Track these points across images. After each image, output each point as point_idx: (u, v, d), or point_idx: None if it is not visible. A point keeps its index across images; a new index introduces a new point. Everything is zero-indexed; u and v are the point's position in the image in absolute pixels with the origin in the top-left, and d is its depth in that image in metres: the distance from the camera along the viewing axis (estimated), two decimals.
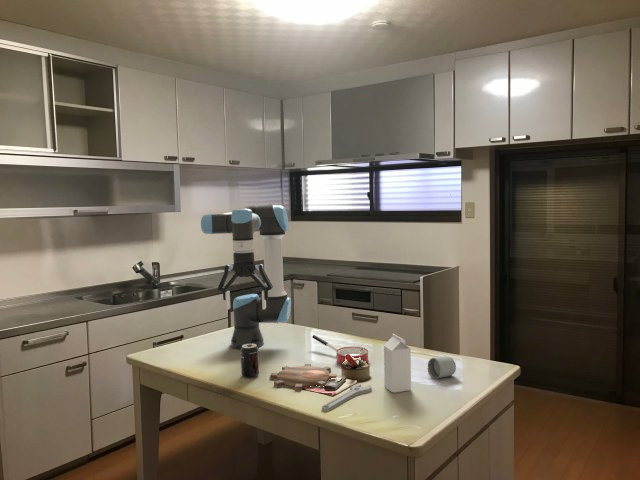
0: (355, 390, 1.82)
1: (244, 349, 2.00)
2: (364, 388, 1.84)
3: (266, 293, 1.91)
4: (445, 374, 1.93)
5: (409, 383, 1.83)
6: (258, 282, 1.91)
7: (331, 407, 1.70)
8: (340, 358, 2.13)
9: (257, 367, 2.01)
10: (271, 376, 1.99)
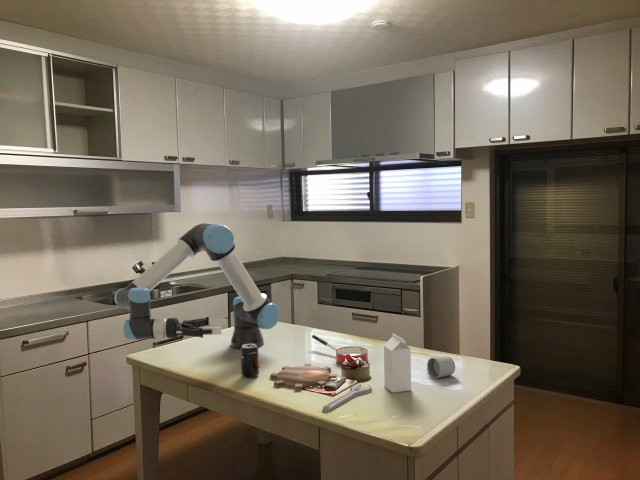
0: (355, 390, 1.82)
1: (244, 349, 2.00)
2: (364, 388, 1.83)
3: (205, 333, 1.93)
4: (444, 374, 1.93)
5: (409, 383, 1.83)
6: None
7: (332, 408, 1.69)
8: (340, 358, 2.14)
9: (257, 367, 2.01)
10: (271, 376, 1.99)
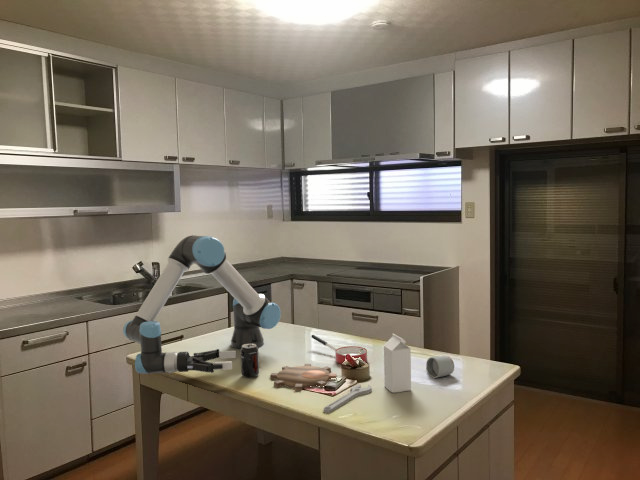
0: (355, 391, 1.81)
1: (244, 349, 2.00)
2: (364, 389, 1.83)
3: (215, 368, 1.94)
4: (443, 373, 1.94)
5: (409, 383, 1.83)
6: None
7: (333, 409, 1.68)
8: (339, 358, 2.14)
9: (257, 367, 2.01)
10: (271, 376, 1.99)
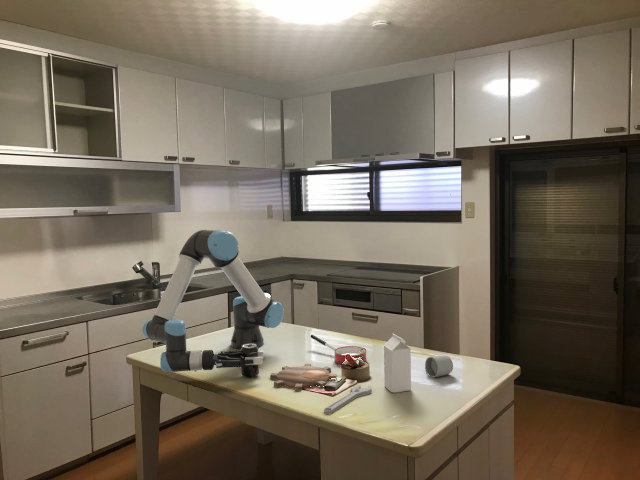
0: (356, 392, 1.81)
1: (244, 349, 2.00)
2: (364, 389, 1.82)
3: (246, 363, 1.98)
4: (442, 373, 1.94)
5: (409, 383, 1.83)
6: None
7: (333, 409, 1.68)
8: (338, 357, 2.14)
9: (257, 367, 2.01)
10: (271, 376, 1.99)
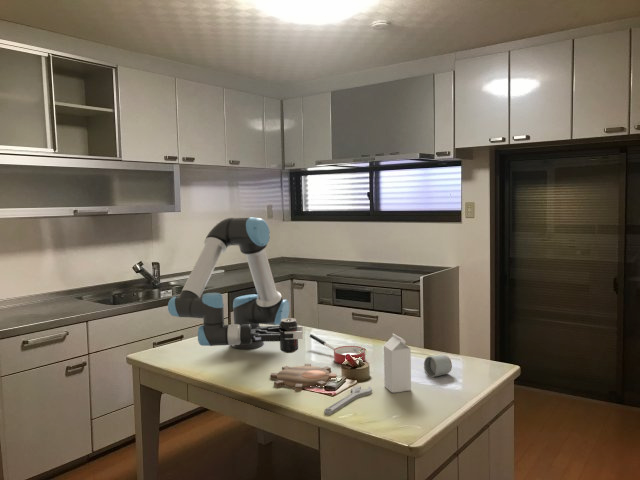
0: (356, 392, 1.80)
1: (283, 323, 1.93)
2: (365, 390, 1.81)
3: (286, 338, 1.91)
4: (441, 372, 1.95)
5: (409, 383, 1.83)
6: None
7: (333, 410, 1.67)
8: (337, 357, 2.15)
9: (296, 342, 1.95)
10: (271, 376, 1.99)
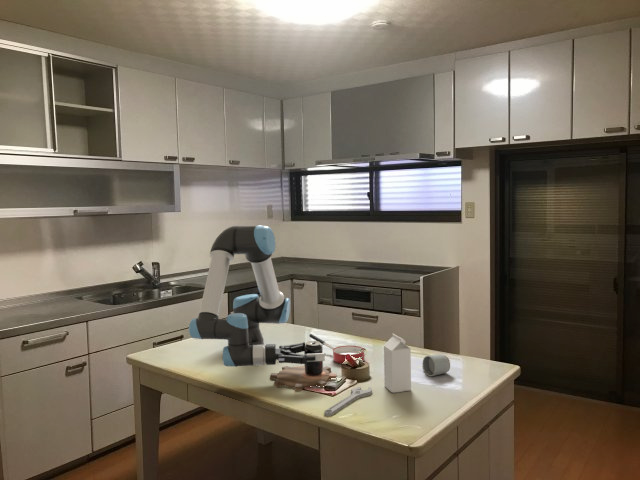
0: (356, 393, 1.79)
1: (309, 347, 1.95)
2: (365, 391, 1.81)
3: None
4: (439, 372, 1.96)
5: (409, 383, 1.83)
6: None
7: (334, 411, 1.66)
8: (337, 357, 2.15)
9: (321, 365, 1.96)
10: (271, 376, 1.99)
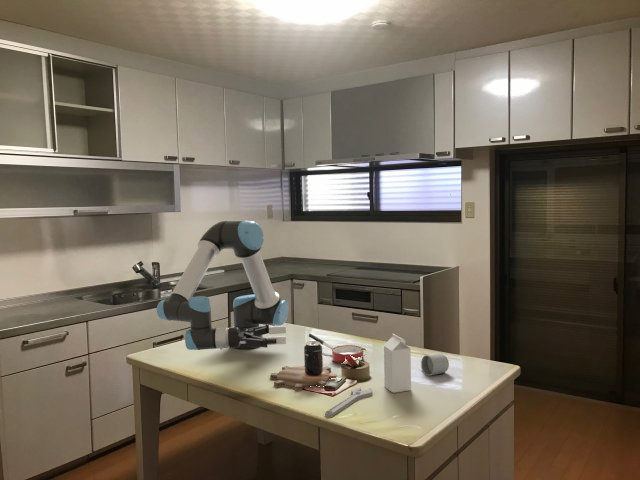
0: (356, 394, 1.78)
1: (308, 347, 1.95)
2: (365, 392, 1.80)
3: (269, 343, 1.88)
4: (438, 371, 1.96)
5: (409, 383, 1.83)
6: None
7: (334, 413, 1.65)
8: (336, 356, 2.15)
9: (321, 365, 1.96)
10: (271, 376, 1.99)
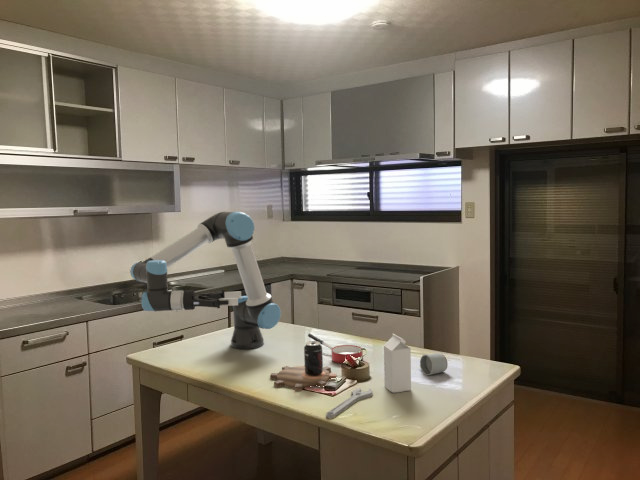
0: (357, 395, 1.78)
1: (308, 347, 1.95)
2: (365, 393, 1.79)
3: None
4: (437, 371, 1.97)
5: (409, 383, 1.83)
6: None
7: (335, 414, 1.64)
8: (335, 356, 2.16)
9: (321, 365, 1.96)
10: (271, 376, 1.99)
